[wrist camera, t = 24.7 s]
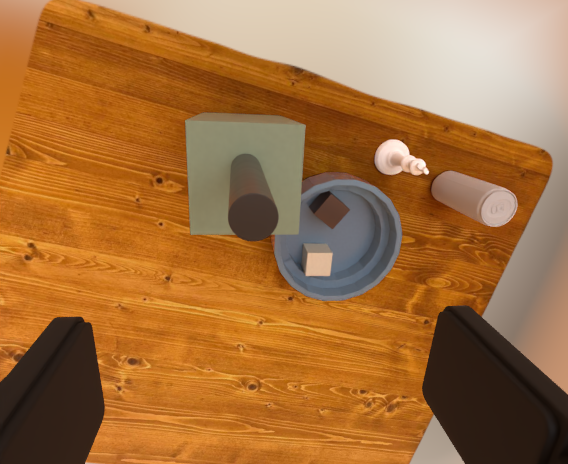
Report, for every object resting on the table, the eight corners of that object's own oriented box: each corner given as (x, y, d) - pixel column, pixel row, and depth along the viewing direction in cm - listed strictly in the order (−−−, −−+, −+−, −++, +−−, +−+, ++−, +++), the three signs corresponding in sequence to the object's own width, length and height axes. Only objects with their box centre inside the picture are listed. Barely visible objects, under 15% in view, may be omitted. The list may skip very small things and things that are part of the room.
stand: (203, 112, 46) (185, 120, 30) (280, 115, 48) (305, 124, 31) (205, 188, 50) (190, 234, 33) (277, 190, 51) (298, 234, 34)
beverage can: (460, 197, 55) (517, 222, 44) (430, 204, 55) (480, 232, 44) (459, 166, 53) (519, 184, 42) (428, 173, 53) (480, 193, 42)
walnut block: (325, 187, 51) (331, 193, 48) (343, 202, 52) (350, 209, 49) (308, 206, 52) (313, 214, 49) (326, 221, 53) (332, 229, 50)
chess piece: (389, 132, 50) (424, 139, 41) (414, 152, 52) (454, 164, 42) (367, 162, 51) (397, 176, 42) (392, 181, 53) (426, 198, 43)
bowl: (272, 170, 50) (277, 178, 45) (394, 172, 52) (411, 180, 47) (268, 283, 56) (272, 302, 51) (378, 281, 58) (391, 299, 53)
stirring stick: (233, 150, 31) (232, 188, 18) (263, 156, 31) (283, 198, 18) (228, 180, 32) (223, 237, 19) (257, 185, 32) (273, 245, 19)
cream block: (303, 243, 54) (307, 252, 50) (326, 243, 54) (332, 253, 51) (301, 265, 55) (305, 276, 52) (324, 265, 55) (330, 276, 52)
